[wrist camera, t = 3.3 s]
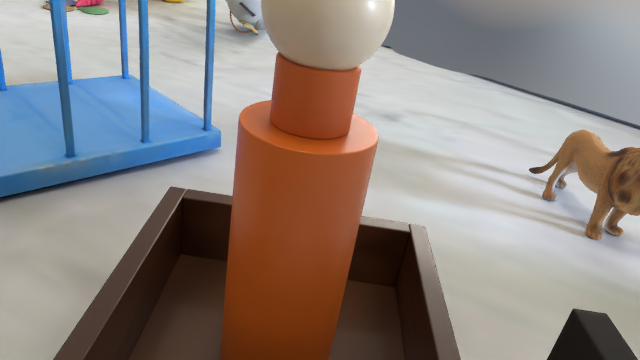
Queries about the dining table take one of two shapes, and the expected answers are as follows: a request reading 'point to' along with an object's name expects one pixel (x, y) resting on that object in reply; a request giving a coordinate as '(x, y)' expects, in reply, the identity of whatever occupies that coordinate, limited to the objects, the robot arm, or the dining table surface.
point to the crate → (210, 280)
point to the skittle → (300, 182)
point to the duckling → (173, 0)
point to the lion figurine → (598, 178)
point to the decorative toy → (247, 14)
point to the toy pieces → (82, 1)
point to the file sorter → (96, 116)
